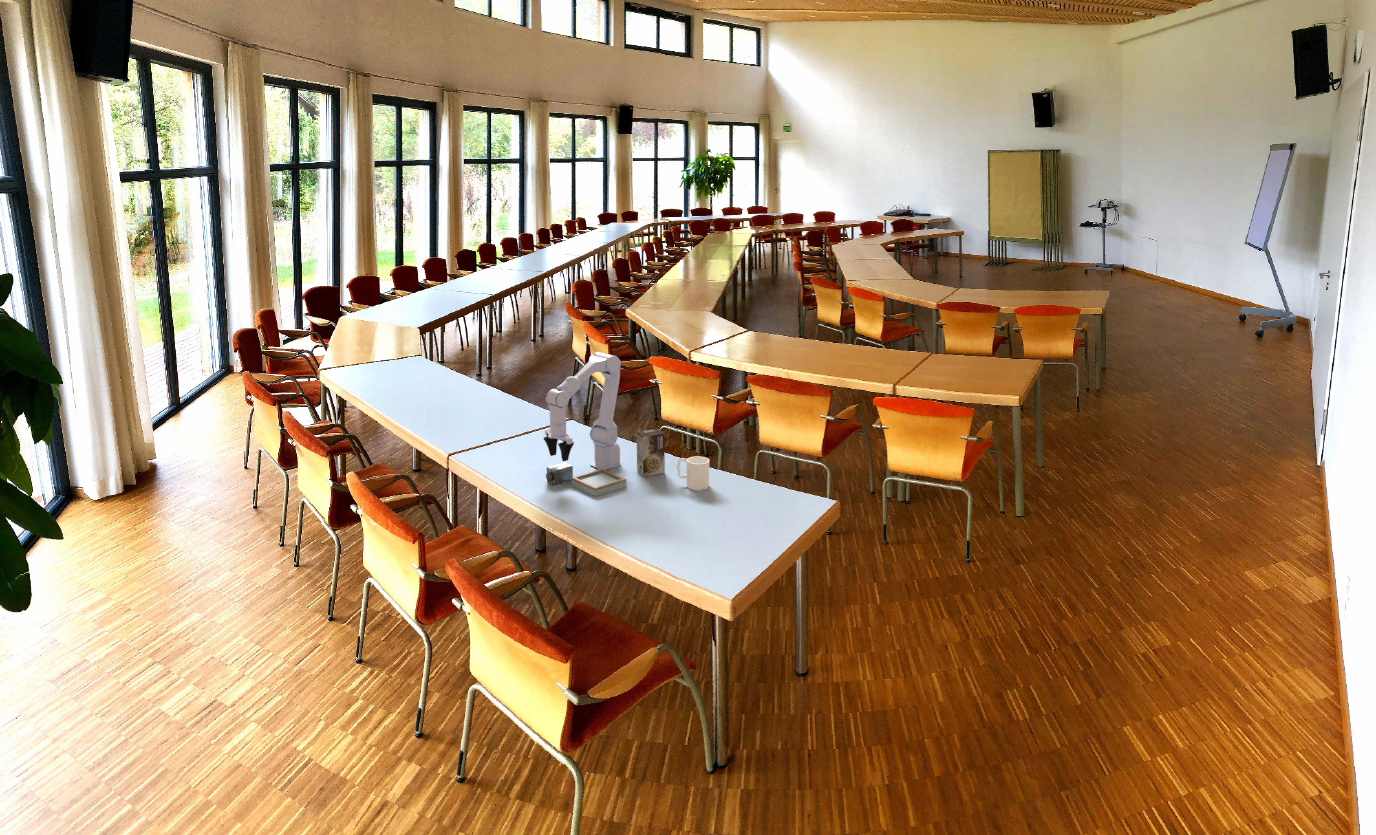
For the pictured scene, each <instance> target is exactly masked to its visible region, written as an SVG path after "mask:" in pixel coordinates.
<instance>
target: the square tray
mask: <svg viewBox="0 0 1376 835" xmlns="http://www.w3.org/2000/svg"><path fill="white" fill-rule="evenodd" d="M571 486H573V487H574V488H577V489H579V490H581V491H584V492H586V493H588V494H590V495H592V496H593V497H597V496H600V495H603V494H608V493H610V492H614V491H616V490H620V489H623V488H626V487H627V478H625V477H623V476H621V475H618V474H616V473H613V472H611V471H609V470H608V469H607V470H605V469H596V470H592V471H589V472H587V473H583V474H580V475H576V476H573V477H572V481H571Z"/></svg>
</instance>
